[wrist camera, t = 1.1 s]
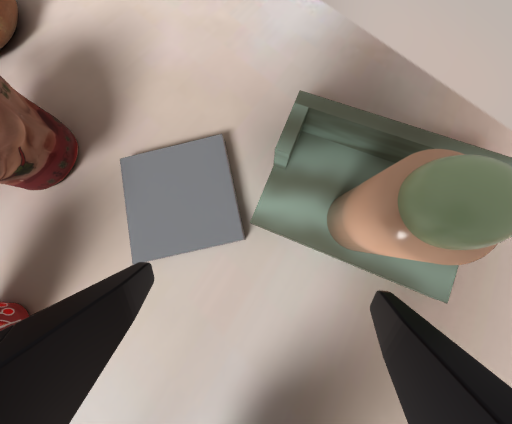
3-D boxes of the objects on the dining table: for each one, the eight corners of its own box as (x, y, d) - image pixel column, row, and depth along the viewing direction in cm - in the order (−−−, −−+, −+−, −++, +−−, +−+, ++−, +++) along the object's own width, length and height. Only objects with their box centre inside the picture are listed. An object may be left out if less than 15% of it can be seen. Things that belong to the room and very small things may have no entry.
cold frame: (430, 297, 21) (495, 321, 15) (251, 223, 23) (245, 218, 17) (464, 185, 22) (536, 165, 16) (292, 126, 24) (299, 90, 18)
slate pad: (245, 239, 23) (243, 239, 21) (141, 262, 23) (132, 264, 22) (224, 140, 25) (221, 134, 23) (128, 163, 25) (119, 158, 24)
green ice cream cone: (382, 258, 20) (597, 298, 7) (320, 242, 20) (410, 249, 7) (394, 199, 20) (608, 135, 8) (334, 185, 21) (437, 102, 8)
